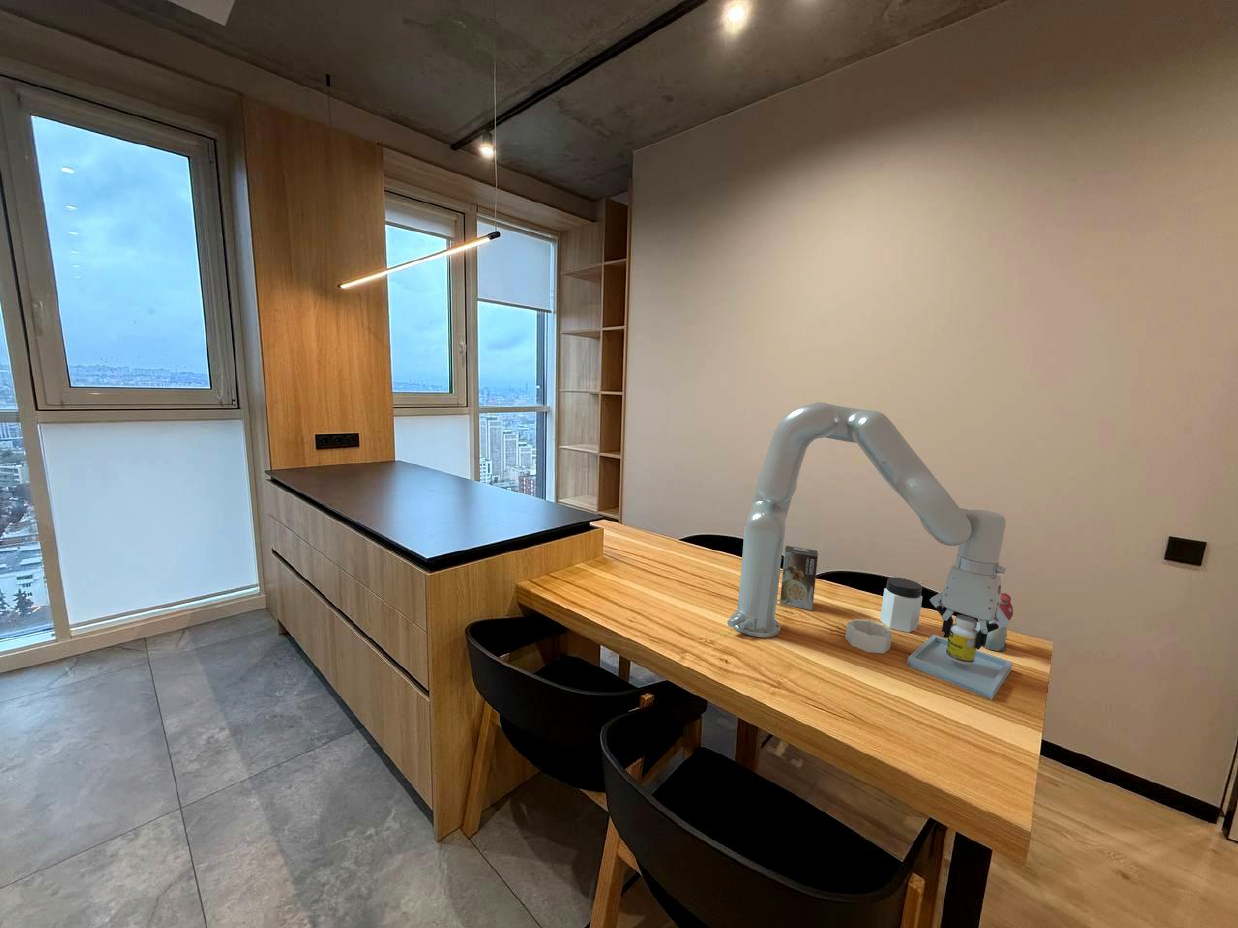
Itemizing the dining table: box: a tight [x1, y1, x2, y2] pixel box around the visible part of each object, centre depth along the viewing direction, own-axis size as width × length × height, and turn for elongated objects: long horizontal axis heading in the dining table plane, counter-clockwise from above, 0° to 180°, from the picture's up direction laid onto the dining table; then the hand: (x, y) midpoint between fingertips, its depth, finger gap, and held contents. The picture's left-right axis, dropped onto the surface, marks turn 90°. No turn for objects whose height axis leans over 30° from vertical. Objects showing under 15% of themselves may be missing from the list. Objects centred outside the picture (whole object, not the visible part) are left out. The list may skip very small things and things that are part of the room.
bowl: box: [845, 618, 893, 654], centre depth 122 cm, size 9×9×4 cm
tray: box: [906, 634, 1013, 700], centre depth 113 cm, size 18×16×2 cm
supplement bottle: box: [946, 614, 978, 665], centre depth 112 cm, size 5×5×10 cm
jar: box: [879, 577, 923, 633], centre depth 132 cm, size 9×8×12 cm
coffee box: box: [779, 545, 819, 611], centre depth 142 cm, size 9×6×16 cm
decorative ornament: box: [975, 592, 1014, 652], centre depth 124 cm, size 9×7×15 cm
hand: (962, 640), depth 112 cm, fingers closed on supplement bottle, 5 cm apart
